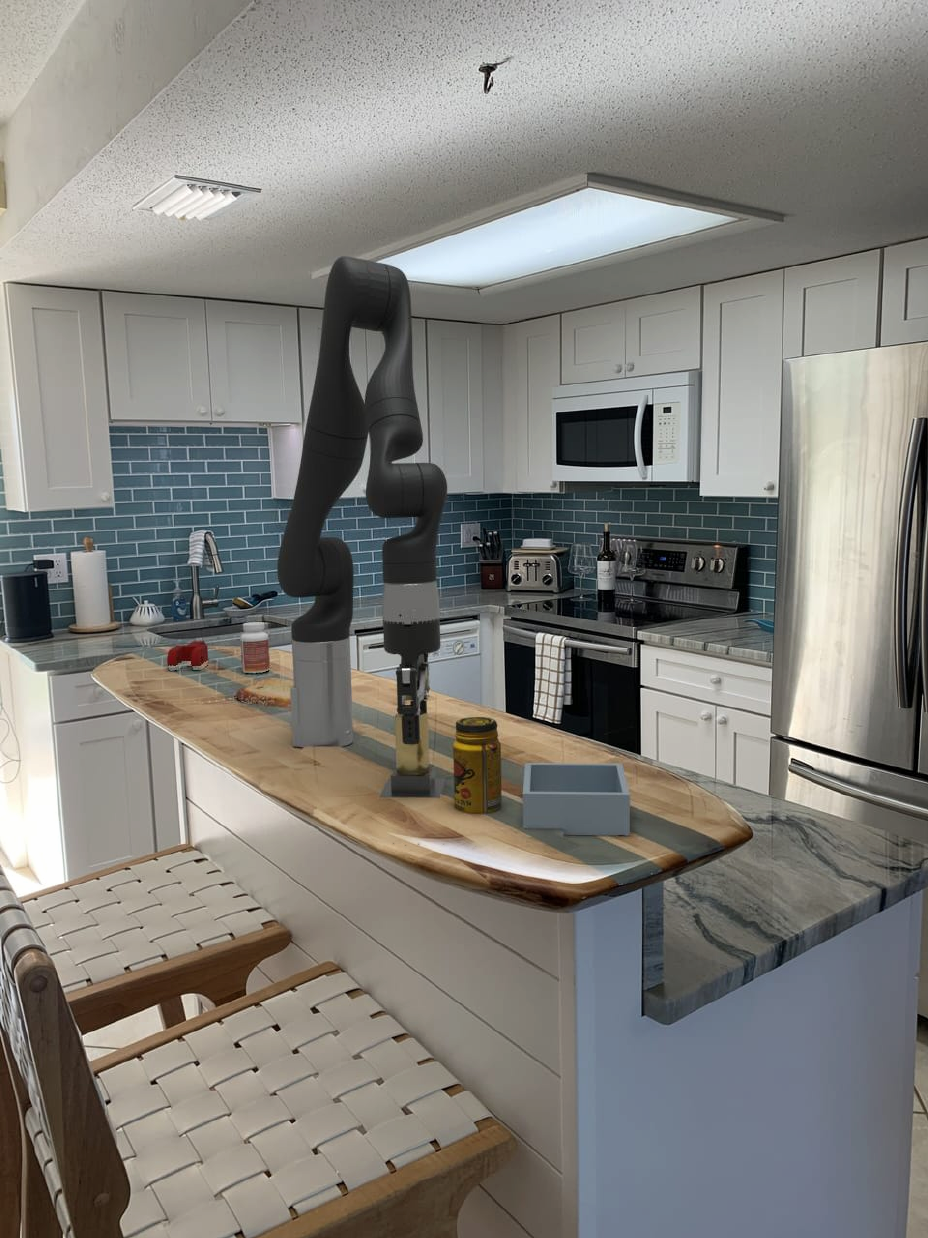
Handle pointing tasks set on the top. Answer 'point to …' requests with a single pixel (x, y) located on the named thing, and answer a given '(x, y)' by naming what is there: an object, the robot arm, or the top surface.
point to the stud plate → (434, 794)
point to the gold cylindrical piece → (412, 761)
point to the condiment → (477, 766)
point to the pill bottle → (254, 648)
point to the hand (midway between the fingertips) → (415, 735)
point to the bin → (576, 798)
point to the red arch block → (188, 654)
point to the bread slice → (267, 692)
